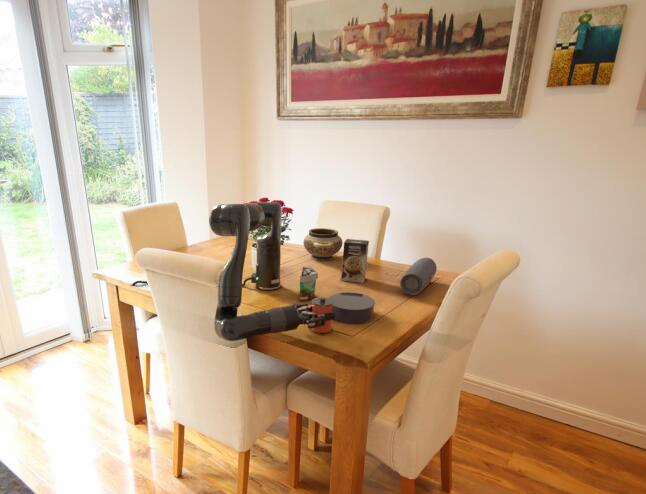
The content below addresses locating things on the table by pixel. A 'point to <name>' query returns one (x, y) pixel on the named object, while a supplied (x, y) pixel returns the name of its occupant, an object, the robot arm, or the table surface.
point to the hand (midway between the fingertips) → (328, 311)
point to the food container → (307, 283)
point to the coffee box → (354, 260)
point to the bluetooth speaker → (418, 276)
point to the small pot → (322, 312)
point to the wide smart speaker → (352, 307)
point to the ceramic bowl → (322, 243)
